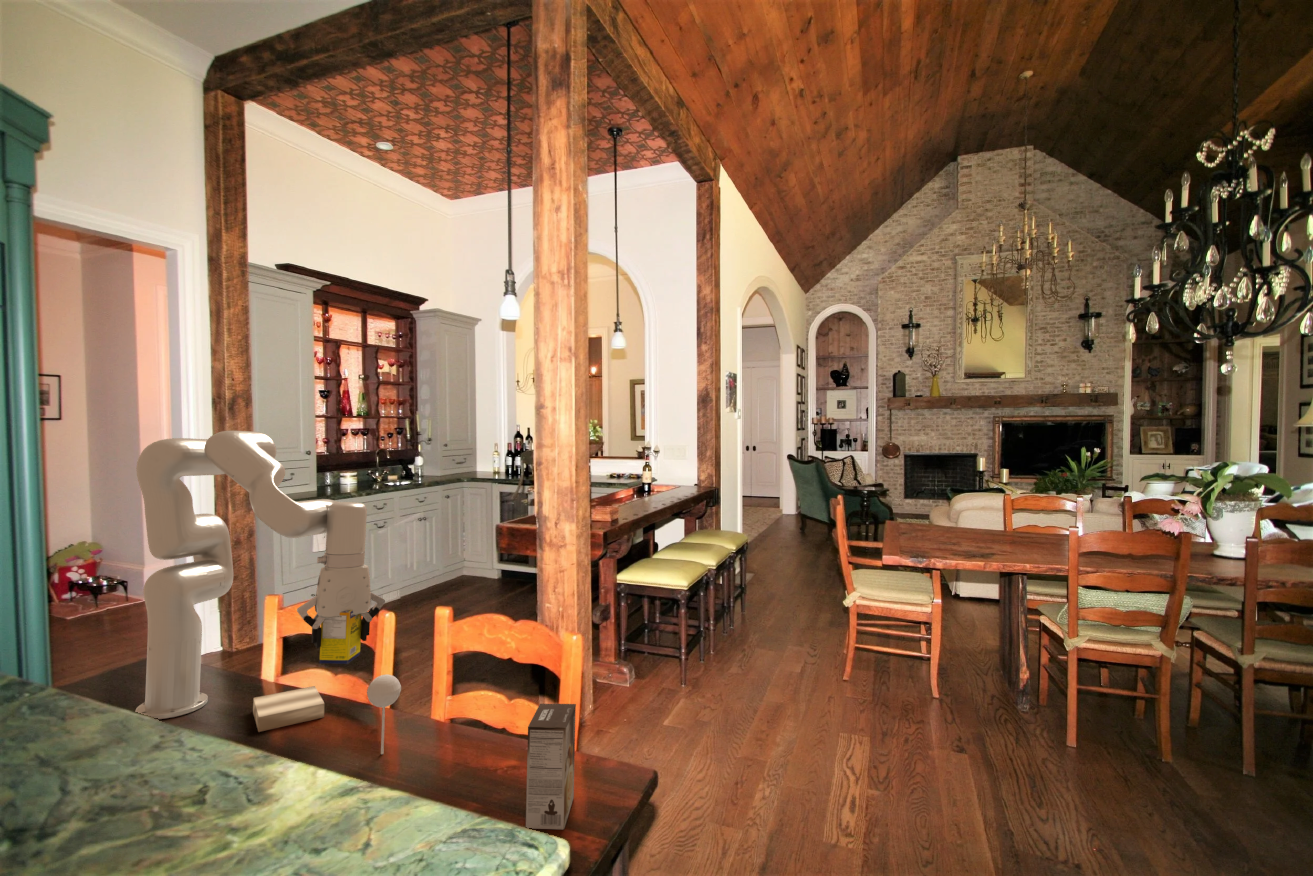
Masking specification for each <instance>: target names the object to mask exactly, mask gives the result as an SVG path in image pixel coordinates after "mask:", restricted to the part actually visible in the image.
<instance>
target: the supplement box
mask: <svg viewBox="0 0 1313 876" xmlns="http://www.w3.org/2000/svg"><path fill="white" fill-rule="evenodd" d="M362 618H363V617H362V615H361V614H357V615H354V614H353V610H350V611H343V612H340V615H339V616H338V617H333V618H325V619H324V621H323V622H322V623H321V625H320V627H321V629H322V633H321V647H320V648H319V663H318V664H339V665H341V664H342V665H343V664H345V665H348V664H349V663H351V662H352V661H354V660H355V659H357V657H359V656H360V654H361V641H362V640H361V619H362Z"/></svg>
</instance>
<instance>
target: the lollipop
mask: <svg viewBox="0 0 1313 876" xmlns="http://www.w3.org/2000/svg"><path fill="white" fill-rule="evenodd" d="M401 691H402V685H401V683H400V681H399V679H398V678H397V677H396V676H394V675H393V674H381V675H378V676H377V677H375V678H374V679H373V680H372V681H371V682H370V683H369V685H368V688H367V691H366V694H367V698H368V701H369V703H370V704H372V706H374V707H377V708H381V709H382V711H381V736H380V737H381V740H380V741H381V743H380V744H381V745H380V755H384V752H385V751H384V750H385V749H384V748H385V746H384V745H385V743H384V742H385V718H386V716H385V714H386V711H385V710H386V707H389V706H391V705H393V704H395V702H396V701H397V700H398V698H399V697H400V694H401Z"/></svg>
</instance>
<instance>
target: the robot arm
mask: <svg viewBox="0 0 1313 876" xmlns="http://www.w3.org/2000/svg"><path fill="white" fill-rule="evenodd" d="M276 455H277V446H276V444H275V442H274V440H273V439H272V438H271V437H270V436H268V435H267V434H265V433H263V432H259V431H251V430H250V431H247V430H246V431H245V430H223V431H219V432H216V433H215V434H213V435H211V436H210V437H208V438H187V437H186V438H185V437H180V438H179V437H178V438H177V437H174V438H165V439H164V438H163V439H159V440H157V441H154V442H152V443H150V444H148V445H147V446H146V447H145V448H143V450H142V451H141V453H140V455H139V456H138V458H137V462H136V479H137V481H138V486H139V488H140V491H141V495H142V499H143V504H144V515H145V527H146V536H147V544H148V550H149V552H150V554H151V555H152V556H153V557H154V558H155V559H158V560H162V561H169V560H178V559H184V558H189V557H192V559H193V562H191V561H190V562H186V563H184V562H183V563H180V564H175V565H170V566H167V567H164V568H161V569H158V570H157V571H155V572H153V573H152V574H151V575H150V576H148V577H147V579H146V581H145V582H144V585H143V592H142V593H143V594H142V595H143V599H144V603H145V608H146V615H147V644H146V645H147V646H146V647H147V648H146V649H147V650H146V668H145V669H146V671H145V673H146V675H145V695H144V696H145V697H144V699H145V700H144V702H142V703H141V704H139V705H138V706H137V707H136V709H135V711H134V712H138V713H141V714H144V715H148V716H151V717H154V718H158V719H157V720H162V719H169V718H170V719H171V718H175V717H180V716H183V715H186V714H190V713H192V712H194V711H197V710H199V709H201V708H202V707H204V706H205V705H207V703H208V701H209V700H208V697H209V696H208V694H206V693H204V692H200V691H201V669H202V667H201V666H202V665H201V664H202V641H203V633H202V632H203V624H202V620H201V617H200V615H199V614H198V613H197V610H196V609H195V606H194V605H198V604H200V603H204V602H208V601H211V600H215V599H218V598H221V597H222V596H224V595H225V594H227V593H228V592H229V591H230V589H231V588H232V585H233V582H234V565H233V564H234V563H233V553H232V545H231V543H232V542H231V537H230V532H229V528H228V525H227V524H226V522H225V521H224V520H223V519H222V518H221V517H219V516H218V515H216V514H213V513H198V514H195V510H194V503H193V496H192V494H191V491H190V489H189V488H188V486H186V484H185V483H184V482H183V481H182V479H181V477H194V476H195V477H196V476H197V477H198V476H199V477H201V476H217V475H218V476H220V475H226V476H228V477H229V478H230V479H232V480H233V481H234V482H235V483H236V484H238V486H240V487H242V489H244V490H245V491H247V492H248V494H249V502H250V506H251V509H252V511H253V513H254V515H255V516H256V517H257V518H258V519H259V520H260V521H261V522H262V523H263V524H264V525H266V526H267V527H269V528H270V529H271V530H273V532H275V533H276V534H279V535H280V536H282V537H285V538H289V539H299V538H306V537H310V536H316V535H323V534H326V536H325V537H326V538H325V552H324V554H323V555H322V556H317V559H316V562H317V564H323V565H324V566H323V567H321V569H320V572H319V576H318V578H317V579H318V580H317V586H316V587H317V588H316V591H315V596H314V597H313V598H311V599H309V600H308V601H307V602H304V604H302V605H301V606H299V607H298V608H297V609H296V611H297V613H298V614H299V616H300V617H301V619H302V620H303V622H305V623H306V624H307V625H308V626H310V627H311V644H313V645H314V647H315V648H316V649H320V647H321V633H322V629H321V623H322V622H323V621H324V619H325V618H333V617H338V616H339V615H340V612H343V611H350V610H353V614H354V615H357V614H361V615H362V619H361V641H362V642H367V639H368V638H367V636H368V637H369V636H370V631H371V630H370V627H371V622H372V620H373V619H374V617H376V615H377V614H379V612H380V610H381V609H382V608H383V606H384V605H385V604H386V600H385V599H384V598H383V597H381V596H379V595H377V594H375V593H374V592H371V576H370V568H369V565H367V564H365V559H366V558H365V555H366V552H365V551H366V537H367V535H366V534H367V533H366V532H367V516H368V513H367V511H368V509H367V506H366V505H365V504H364V503H361V502H354V501H338V500H333V499H329V498H328V499H327V498H321V499H320V498H319V499H309V500H300V501H295V500H294V499H292V498H290V497H289V496H288V495H287V494H285V493H284V492H283V491H282V490H280V489H279V486H280V485H281V483H282V482H283V480H284V478H285V476H286V469H285V466H284V465H283V463H281V462H279V461H278V460H276V459H275V458H276ZM371 601H373V602H374V606H372V608H371V603H372V602H371ZM313 607H314V611H315V612H316V614H315V616H314V617H312V616H311V615H309V613H308V611H309V610H310V609H312V608H313Z"/></svg>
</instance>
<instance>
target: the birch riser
mask: <svg viewBox="0 0 1313 876" xmlns="http://www.w3.org/2000/svg"><path fill="white" fill-rule="evenodd" d="M252 702H253V703H252V715H253V717H254V721H255V724H256V728H257V732H258V733H260V732H264V731H269V730H275V729H279V728H282V727H287V726H292V725H296V724H301V723H303V722H304V723H305V722H310V721H314V720H318V719H322V718H323V719H324V718H325V702H324V700H323V698H322V696H321V695H320V692H319V691H318V689H317V687H316V685H313V686H309V687H303V688H297V689H292V690H287V691H283V692H276V693H271V694H267V695H261V696H256V697H253V699H252Z"/></svg>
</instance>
